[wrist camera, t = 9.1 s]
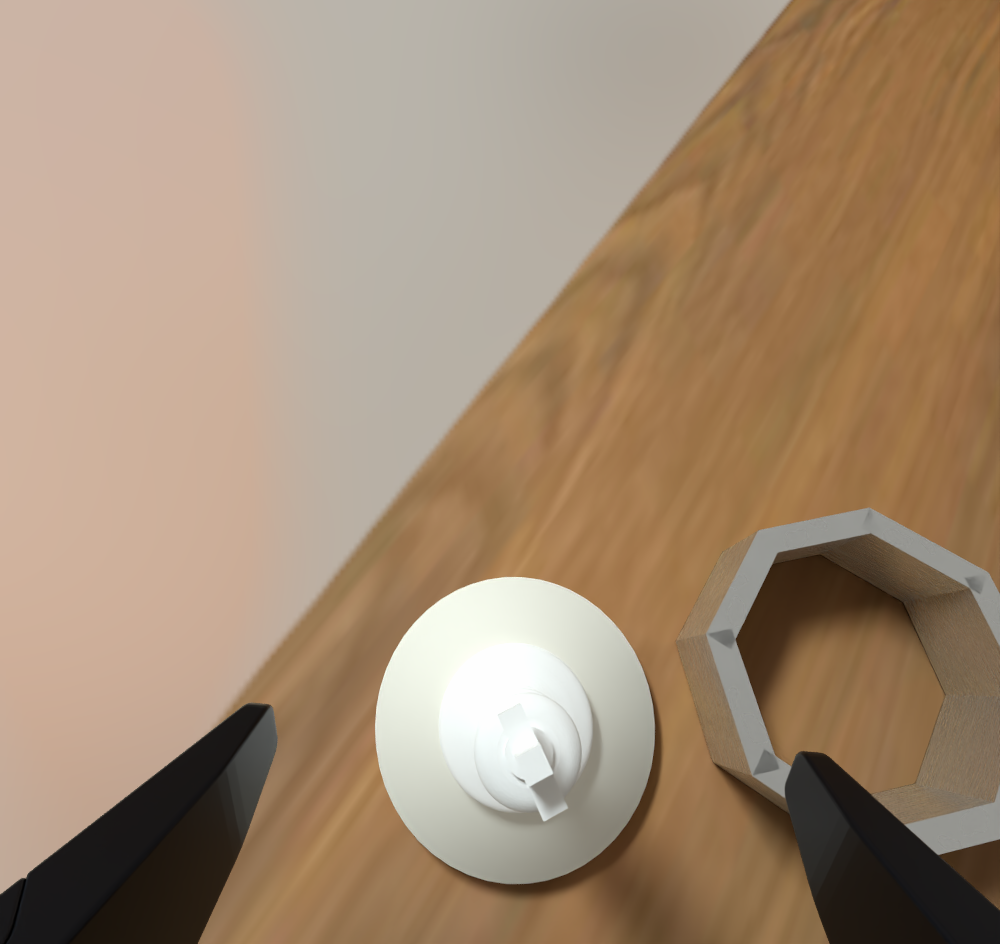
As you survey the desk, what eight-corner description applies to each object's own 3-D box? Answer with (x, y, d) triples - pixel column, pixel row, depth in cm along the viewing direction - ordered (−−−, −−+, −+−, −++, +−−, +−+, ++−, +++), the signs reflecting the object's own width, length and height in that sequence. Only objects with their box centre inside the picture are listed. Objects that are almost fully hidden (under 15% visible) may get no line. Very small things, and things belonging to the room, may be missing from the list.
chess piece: (548, 617, 19) (596, 552, 10) (620, 763, 17) (763, 857, 8) (415, 684, 18) (326, 683, 9) (478, 843, 16) (450, 1051, 7)
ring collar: (909, 895, 16) (993, 938, 14) (638, 711, 18) (664, 716, 16) (995, 631, 19) (1079, 622, 16) (752, 494, 21) (791, 464, 18)
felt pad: (559, 949, 16) (562, 958, 15) (322, 758, 18) (317, 760, 17) (696, 674, 19) (702, 674, 18) (479, 533, 21) (478, 529, 20)
